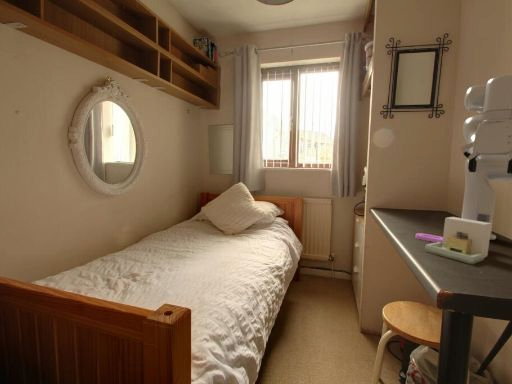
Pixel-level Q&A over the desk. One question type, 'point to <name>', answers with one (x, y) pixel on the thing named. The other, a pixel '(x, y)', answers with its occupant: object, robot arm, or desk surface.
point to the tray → (454, 253)
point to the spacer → (459, 244)
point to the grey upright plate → (480, 218)
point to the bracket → (429, 237)
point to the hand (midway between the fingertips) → (490, 172)
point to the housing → (469, 233)
